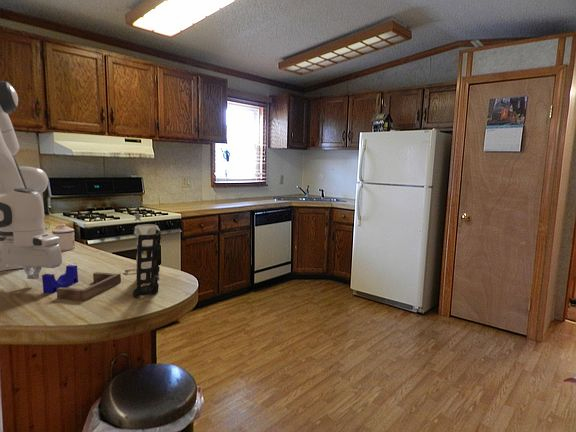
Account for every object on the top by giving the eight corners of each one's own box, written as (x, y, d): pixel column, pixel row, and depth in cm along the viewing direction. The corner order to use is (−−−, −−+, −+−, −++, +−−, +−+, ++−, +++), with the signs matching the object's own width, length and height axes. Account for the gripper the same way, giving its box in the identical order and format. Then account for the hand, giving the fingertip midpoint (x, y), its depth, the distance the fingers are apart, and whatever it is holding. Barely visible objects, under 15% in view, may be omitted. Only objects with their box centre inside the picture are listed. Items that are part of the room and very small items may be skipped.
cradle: (57, 298, 117) (56, 288, 116) (96, 280, 134) (95, 272, 134) (84, 300, 115) (84, 291, 115) (120, 282, 133) (120, 273, 132)
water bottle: (159, 282, 133) (156, 211, 129) (133, 283, 132) (130, 211, 128) (162, 275, 141) (160, 208, 137) (138, 276, 140) (135, 208, 136)
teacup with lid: (79, 248, 180) (77, 224, 179) (57, 252, 173) (56, 226, 172) (68, 245, 188) (67, 221, 186) (47, 248, 181) (46, 223, 179)
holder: (139, 285, 129) (142, 227, 126) (162, 287, 129) (166, 229, 126) (128, 297, 118) (132, 234, 115) (153, 299, 118) (157, 237, 115)
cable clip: (66, 281, 133) (65, 264, 132) (78, 282, 133) (77, 265, 132) (39, 293, 122) (37, 274, 121) (51, 294, 121) (50, 275, 120)
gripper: (-6, 238, 125) (-2, 279, 126) (48, 241, 121) (51, 283, 123) (12, 234, 131) (15, 273, 133) (64, 237, 127) (66, 278, 129)
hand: (33, 278), depth 128 cm, fingers closed
